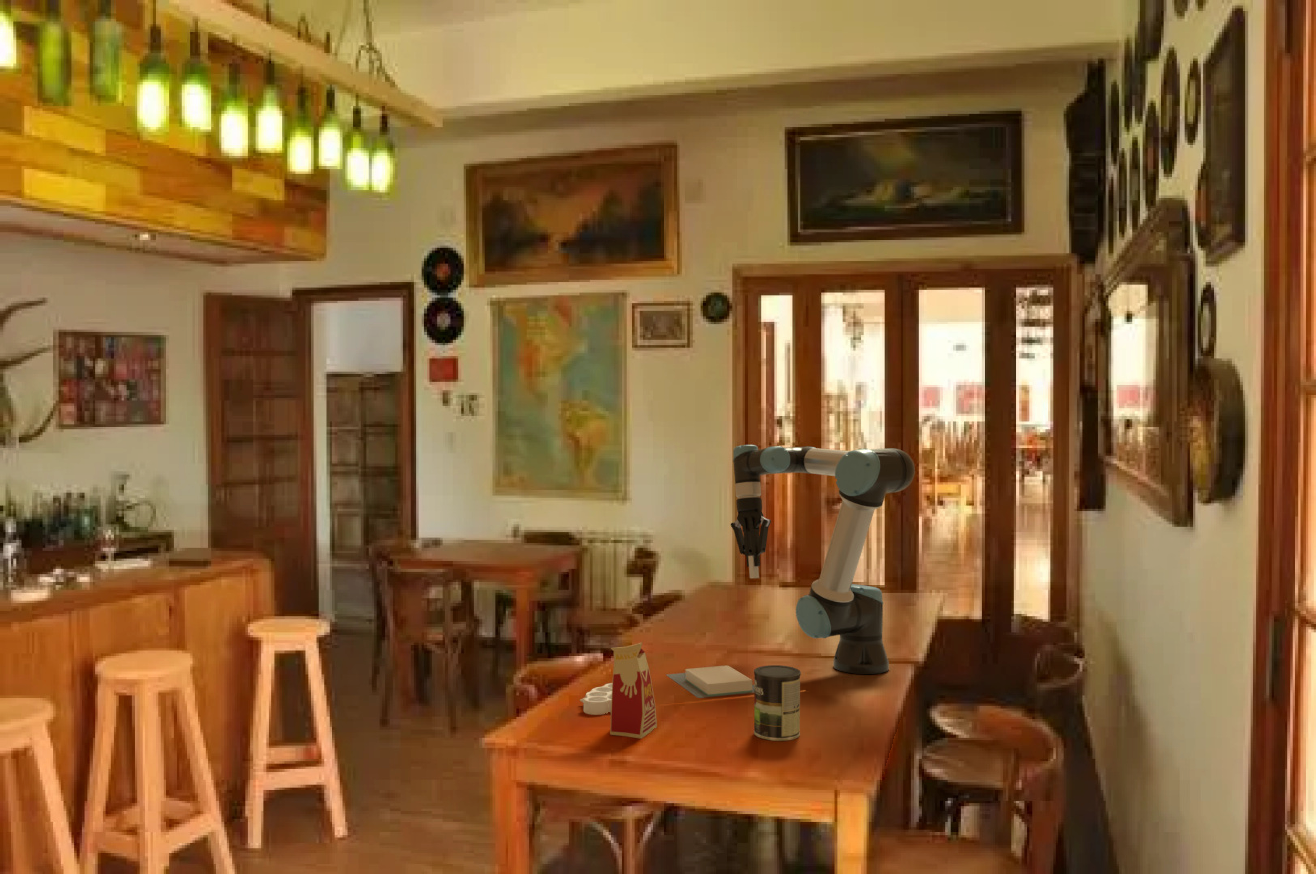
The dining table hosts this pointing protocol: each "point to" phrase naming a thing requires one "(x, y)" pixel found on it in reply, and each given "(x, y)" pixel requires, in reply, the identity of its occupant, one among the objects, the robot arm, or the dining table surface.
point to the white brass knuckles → (598, 700)
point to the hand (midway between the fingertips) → (754, 578)
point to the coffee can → (777, 703)
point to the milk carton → (632, 694)
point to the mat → (689, 687)
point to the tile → (718, 680)
